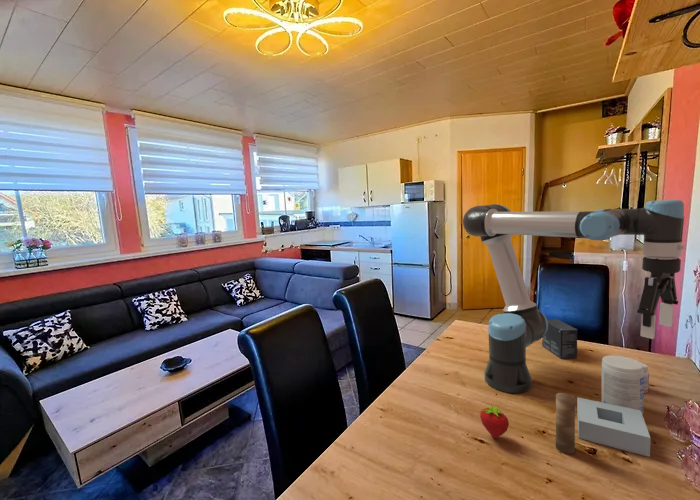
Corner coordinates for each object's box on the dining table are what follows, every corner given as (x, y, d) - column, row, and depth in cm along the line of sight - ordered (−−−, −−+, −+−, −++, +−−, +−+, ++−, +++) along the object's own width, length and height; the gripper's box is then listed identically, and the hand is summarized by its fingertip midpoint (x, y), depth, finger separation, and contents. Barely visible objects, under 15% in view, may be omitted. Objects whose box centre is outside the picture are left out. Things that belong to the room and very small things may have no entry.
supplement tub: (650, 421, 90) (652, 371, 88) (609, 417, 93) (610, 368, 91) (632, 401, 99) (633, 355, 97) (595, 398, 102) (596, 353, 100)
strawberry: (501, 450, 83) (500, 414, 82) (475, 435, 89) (474, 401, 88) (514, 440, 86) (513, 405, 85) (488, 426, 92) (487, 393, 91)
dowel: (555, 451, 81) (555, 399, 80) (555, 441, 85) (556, 391, 83) (574, 456, 79) (575, 403, 78) (574, 446, 83) (574, 395, 81)
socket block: (578, 438, 85) (578, 420, 85) (577, 413, 95) (577, 397, 95) (649, 457, 78) (650, 437, 77) (640, 427, 87) (640, 410, 87)
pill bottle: (652, 393, 102) (653, 368, 101) (634, 392, 103) (635, 367, 102) (642, 385, 107) (642, 361, 106) (625, 384, 108) (626, 360, 107)
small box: (578, 358, 128) (578, 329, 126) (560, 359, 128) (560, 330, 126) (557, 344, 141) (557, 318, 139) (541, 345, 141) (541, 319, 140)
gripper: (662, 264, 79) (657, 347, 81) (695, 252, 91) (690, 324, 94) (624, 261, 85) (621, 338, 88) (660, 250, 97) (655, 317, 100)
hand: (656, 331), depth 91 cm, fingers open, 13 cm apart
